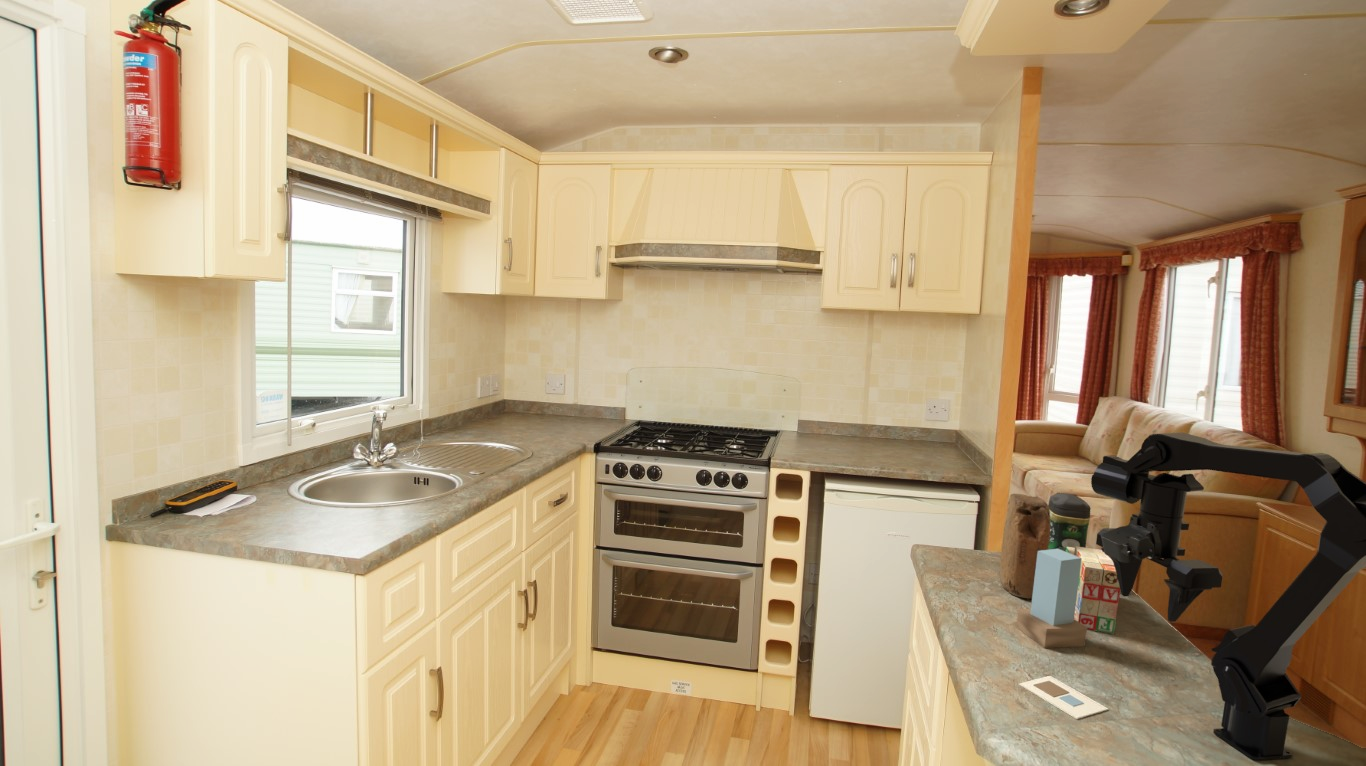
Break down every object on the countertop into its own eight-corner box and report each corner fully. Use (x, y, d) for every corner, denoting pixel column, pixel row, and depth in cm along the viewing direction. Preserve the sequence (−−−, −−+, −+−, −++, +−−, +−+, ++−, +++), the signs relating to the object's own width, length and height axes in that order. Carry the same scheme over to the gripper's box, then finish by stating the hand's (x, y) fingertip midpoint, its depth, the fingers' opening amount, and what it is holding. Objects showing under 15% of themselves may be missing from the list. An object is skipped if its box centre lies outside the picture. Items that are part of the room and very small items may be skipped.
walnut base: (1084, 646, 130) (1087, 627, 129) (1044, 647, 128) (1046, 628, 128) (1054, 625, 138) (1056, 608, 137) (1016, 626, 136) (1018, 609, 136)
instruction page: (1108, 709, 109) (1108, 707, 109) (1076, 719, 106) (1076, 717, 106) (1049, 676, 118) (1049, 675, 118) (1019, 684, 115) (1019, 682, 115)
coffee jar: (1037, 566, 169) (1046, 488, 167) (1074, 571, 167) (1084, 492, 165) (1045, 581, 160) (1055, 499, 158) (1085, 587, 158) (1096, 504, 156)
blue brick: (1073, 622, 131) (1081, 558, 130) (1053, 625, 129) (1061, 560, 128) (1050, 610, 136) (1057, 548, 134) (1030, 613, 134) (1037, 550, 132)
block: (996, 578, 160) (1006, 490, 158) (1033, 583, 158) (1043, 494, 156) (1006, 598, 150) (1016, 503, 147) (1045, 603, 148) (1057, 507, 145)
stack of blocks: (1061, 587, 157) (1067, 532, 156) (1093, 592, 155) (1100, 537, 154) (1077, 628, 137) (1085, 565, 136) (1115, 635, 135) (1123, 571, 134)
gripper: (1073, 495, 121) (1061, 585, 123) (1165, 532, 103) (1150, 637, 105) (1131, 495, 123) (1119, 584, 125) (1232, 532, 105) (1216, 635, 107)
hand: (1147, 608), depth 115 cm, fingers open, 9 cm apart
